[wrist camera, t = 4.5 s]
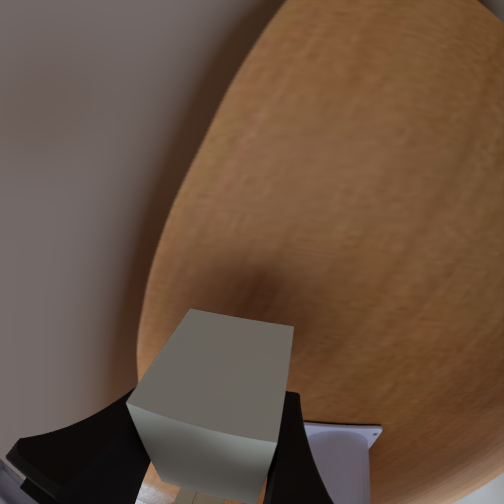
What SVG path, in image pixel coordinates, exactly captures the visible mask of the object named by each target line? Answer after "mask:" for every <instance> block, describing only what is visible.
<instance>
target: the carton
mask: <svg viewBox="0 0 504 504" xmlns="http://www.w3.org/2000/svg"><path fill="white" fill-rule="evenodd" d="M293 331H294V326H288V325H281V324H275V323H268V322H262V321H256V320H250V319H244V318H238V317H233V316H227V315H222V314H216V313H211V312H206V311H201V310H196V309H191V308H190V309H189V311H188V312H187V314H186V315H185V316H184V318H183V319H182V321H181V322H180V324H179V325H178V327H177V328H176V329H175V331H174V332H173V334H172V335H171V337H170V338H169V340H168V341H167V343H166V344H165V345H164V347H163V348H162V350H161V351H160V353H159V354H158V356H157V357H156V359H155V360H154V362H153V363H152V365H151V366H150V367H149V369H148V370H147V372H146V373H145V375H144V376H143V378H142V379H141V381H140V382H139V384H138V385H137V387H136V388H135V390H134V391H133V393H132V394H131V396H130V397H129V399H128V400H127V402H126V404H127V407H128V409H129V412H130V414H131V417H132V419H133V422H134V424H135V426H136V429H137V431H138V433H139V436H140V438H141V440H142V442H143V444H144V447H145V449H146V451H147V453H148V455H149V457H150V459H151V461H152V463H153V465H154V467H155V469H156V471H157V473H158V475H159V477H160V478H161V480H162V481H164V482H166V483H169V484H172V485H175V486H178V487H182V488H185V489H188V490H191V491H195V492H198V493H202V494H206V495H210V496H214V497H218V498H222V499H227V500H231V501H236V502H242V503H247V504H257V502H258V499H259V496H260V493H261V491H262V488H263V485H264V482H265V479H266V476H267V473H268V470H269V467H270V464H271V461H272V458H273V455H274V452H275V448H276V445H277V441H278V435H279V430H280V424H281V417H282V411H283V405H284V398H285V391H286V385H287V378H288V370H289V363H290V355H291V348H292V340H293Z"/></svg>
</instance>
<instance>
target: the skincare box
mask: <svg viewBox="0 0 504 504" xmlns="http://www.w3.org/2000/svg"><path fill="white" fill-rule="evenodd" d="M224 502H225V499H222V498H218V497H214V496H210V495H206V494H202V493H198V492H195V491H191V490H188V489H185V488H182V487H181V488H180V490H179V492H178V494H177V497H176V499H175V501H174V503H173V504H224Z"/></svg>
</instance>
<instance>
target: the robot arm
mask: <svg viewBox="0 0 504 504" xmlns="http://www.w3.org/2000/svg"><path fill="white" fill-rule="evenodd" d="M136 387H137V386H136ZM136 387H135V388H136ZM135 388H133V389H132V390H131V391H129V392H128V393H127V394H126V395H124V396H123V397H121V398H120V399H118V400H117V401H115V402H114V403H112V404H111V405H109V406H108V407H106V408H105V409H103V410H101V411H99V412H98V413H96V414H94V415H92V416H90V417H88V418H86V419H84V420H82V421H80V422H78V423H75V424H73V425H70V426H68V427H65V428H62V429H59V430H56V431H53V432H49V433H46V434H42V435H37V436H32V437H27V438H20V439H19V440H18V441H17V442H16V444H15V445H14V446H13V447H12V449H11V450H10V451H9V453H8V454H7V455H6V459H7V460H8V461H9V462H10V463H11V464H12V465H13V466H14V467H16V468H17V469H18V470H19V471H20V472H21V473H22V474H23V475H25V476H26V479H25V480H23V479H21V477H20V476H19V475H17V474H16V473H15V472H14V471H13V470H12V469H11V468H10V467H9V466H8V465H7V464H6V463H4V462H3V461H2V460H1V459H0V504H135V502H136V499H137V496H138V493H139V490H140V487H141V485H142V482H143V479H144V477H145V474H146V472H147V469H148V467H149V464H150V462H151V459H150V457H149V455H148V453H147V451H146V449H145V447H144V444H143V442H142V440H141V438H140V436H139V433H138V431H137V429H136V426H135V424H134V422H133V419H132V417H131V414H130V412H129V409H128V407H127V404H126V402H127V400H128V399H129V397H130V396H131V394H132V393H133V391H134V390H135ZM381 432H382V427H381V426H354V425H333V424H319V423H308V422H303V417H302V412H301V404H300V395H299V394H298V393H295V392H288V391H285V398H284V405H283V411H282V417H281V424H280V430H279V435H278V441H277V445H276V448H275V452H274V455H273V458H272V461H271V464H270V467H269V470H268V475H267V484H266V491H265V497H264V501H263V504H370V469H369V451H368V450H369V448H370V447H371V446H372V444H373V443H374V442H375V440H376V439H377V438H378V436H379V435H380V433H381Z"/></svg>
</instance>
